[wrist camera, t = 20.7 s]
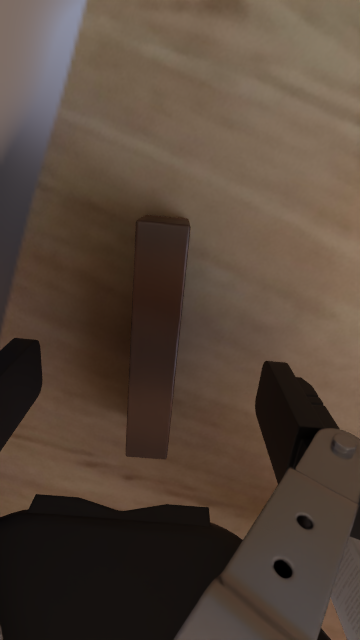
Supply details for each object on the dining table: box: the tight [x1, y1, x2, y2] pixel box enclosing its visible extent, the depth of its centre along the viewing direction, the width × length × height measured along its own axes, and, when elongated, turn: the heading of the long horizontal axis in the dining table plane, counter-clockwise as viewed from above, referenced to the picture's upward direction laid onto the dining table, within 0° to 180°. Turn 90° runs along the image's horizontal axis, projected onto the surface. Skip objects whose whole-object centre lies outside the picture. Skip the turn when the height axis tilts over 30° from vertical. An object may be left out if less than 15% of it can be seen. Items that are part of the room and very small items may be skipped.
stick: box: [126, 215, 190, 459], centre depth 16 cm, size 11×2×3 cm, turn 175°
